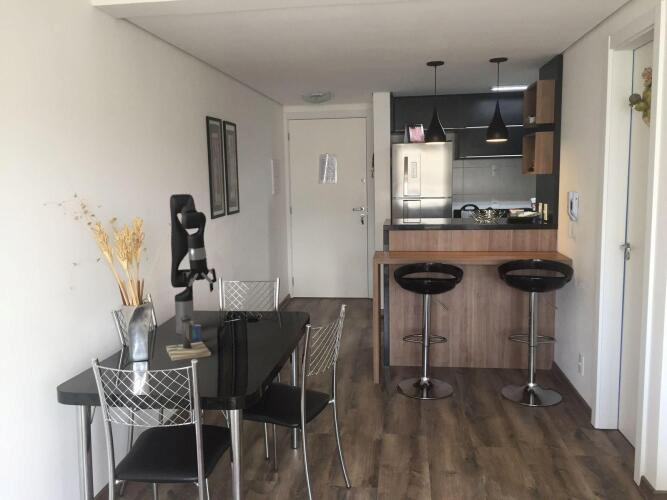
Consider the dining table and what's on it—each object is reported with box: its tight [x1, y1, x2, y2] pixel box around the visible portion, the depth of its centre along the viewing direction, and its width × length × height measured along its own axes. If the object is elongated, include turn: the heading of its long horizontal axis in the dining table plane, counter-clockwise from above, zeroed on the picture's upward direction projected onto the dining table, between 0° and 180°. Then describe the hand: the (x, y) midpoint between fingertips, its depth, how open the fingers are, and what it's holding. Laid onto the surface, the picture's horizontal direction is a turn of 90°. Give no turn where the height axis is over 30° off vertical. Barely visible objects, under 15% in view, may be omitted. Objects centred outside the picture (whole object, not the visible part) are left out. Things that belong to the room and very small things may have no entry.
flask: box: [191, 321, 203, 343], centre depth 288 cm, size 9×3×11 cm, turn 78°
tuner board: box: [165, 341, 212, 362], centre depth 272 cm, size 20×17×2 cm
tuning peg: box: [180, 316, 193, 348], centre depth 271 cm, size 20×5×14 cm, turn 23°
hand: (201, 292), depth 265 cm, fingers open, 8 cm apart
